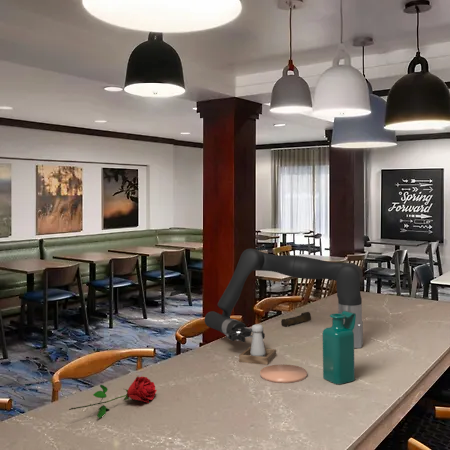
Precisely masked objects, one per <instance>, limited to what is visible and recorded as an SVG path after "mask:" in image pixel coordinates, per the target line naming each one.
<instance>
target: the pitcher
mask: <svg viewBox="0 0 450 450" xmlns="http://www.w3.org/2000/svg"><path fill="white" fill-rule="evenodd" d="M329 317H330V318H331V319H332V320H331V321H332V323H331V324H332V325H331V326H329V327H326V328H324V329H323V330H322V333H321V334H322V376H323V377H322V378H323V379H324V380H326V381H328V382H331V383H333V384H334V385H343V384H348V383H351V382H353V381H355V377H356V375H355V374H356V373H355V371H356V370H355V348H354V332H353V329H354V326H355V319H356V314H355V313H351V312H348V311H343V312H342V314H339V313H337V312H336V313H331V314H330V315H329ZM344 319H345V322H344Z"/></svg>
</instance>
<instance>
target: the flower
mask: <svg viewBox="0 0 450 450" xmlns="http://www.w3.org/2000/svg"><path fill="white" fill-rule="evenodd" d="M99 387H100V388H101V389H102V390H98V391H96V392H94V393H93V394H92V395H93V396H94V397H95V398H99V399H101V400H100V401H99V402H97V403H92V404H91V403H90V404H89V405H82V406H76V407H71V408H69V409H68V411H70V410H76V409H81V408H87V407H88V408H89V407H92V406H96V405H101V406H100V407H99V408H98V412H97V415H96V417H97V418H98V419H102V418H101V417H102V416H103V415H104V414H105V415H106V413H107V412H106V411H107V410H109V408H108V407H107V406H105V405H104V404H106V403H111V402H112V401H115V400H117V399H120V398H123V401H126V400H130V399H131V400H132V401H141V402H145V403H148V404H149V400H150V401H151V400H152V401H153V399H154V398H155V395H156V393H157V389H156V385H155V383H154V381H152V380H151V379H149V378H148V377H146V376H136V378H135V379H134V380H133V381H132V382H131V384H130V385H129V387H128V389H127V388H124V391H126V394H124V395H121V396H118V397H115V398H112V399H109V400H106V401H102V400H103V399H105V398H107V392H108V390H109V389H108V387H107V386H105V385H104V384H100V385H99ZM105 415H104V416H105ZM104 416H103V417H104Z"/></svg>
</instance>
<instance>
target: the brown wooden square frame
mask: <svg viewBox="0 0 450 450" xmlns="http://www.w3.org/2000/svg"><path fill="white" fill-rule="evenodd" d="M250 351H251V346H249V347H247V348H246V349H245V350H244V351H243V352H242V353H241V352H240V354H239V355H238V358H239V359H238V361H239V363H248V364H256V365H266V366H269V364H270V363H271V362H272V361H273V360H274V359H275V358H276V357H277V349H276V348H275V349H273V348H265V352H266V354H265V356H264V357H261V356H251V354H250Z"/></svg>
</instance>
